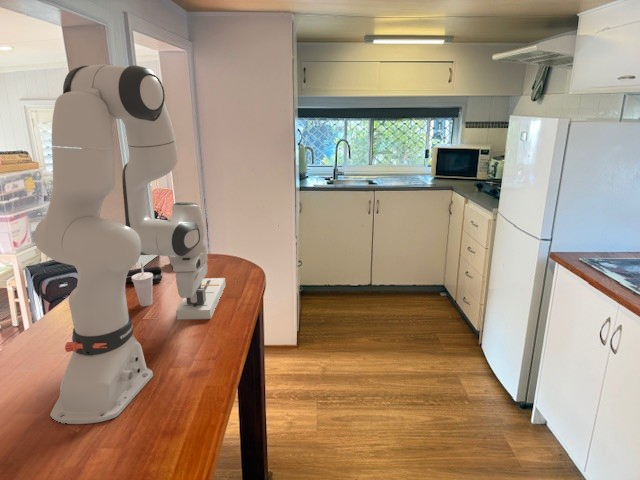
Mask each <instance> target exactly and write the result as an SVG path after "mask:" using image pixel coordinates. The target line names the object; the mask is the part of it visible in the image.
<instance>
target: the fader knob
mask: <svg viewBox="0 0 640 480" xmlns="http://www.w3.org/2000/svg"><path fill="white" fill-rule="evenodd" d="M196 295H197V296H198V300H197V302H196V303H192V302H191V299H190V298H186V299H187V304H204V303H205V301H206V294H205V288H198V289H197V290H196Z"/></svg>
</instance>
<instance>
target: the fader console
mask: <svg viewBox="0 0 640 480" xmlns="http://www.w3.org/2000/svg"><path fill="white" fill-rule="evenodd" d="M201 288H205V294H206V301H205V303H204V304H187V299H186V298H183V299H182V300H181V302H180V303H179V305H178V307H177V308H176V309H175V313H176V314H175V315H176V320H211V319H212V317H213V316H214V313H215V310H216V309H215V308H217V306H218V304H219V302H220V300H221V298H222V295H223V293H224V291H225V289H226V278H225V277H217V278H216V277H211V278H209V277H207V278H205V277H204V279H203V280H202V286H201ZM224 288H225V289H224ZM223 290H224V291H223ZM220 297H221V298H220ZM219 299H220V300H219Z"/></svg>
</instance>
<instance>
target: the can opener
mask: <svg viewBox="0 0 640 480" xmlns="http://www.w3.org/2000/svg"><path fill="white" fill-rule="evenodd" d="M143 271H144V272H149V273H152V274H153V279H152V285H154V284H157V283H160V282H161V281H162V279H163V275H162V271H163V270H162V268H161V267H160V266H153V265H152V266H149V267H143ZM138 273H142V271H141V268H137V269H136V268H135V269H132V270H131V269H130V270H129V271H128V274H127V278H126V283H125V285H127V284H129V283H130V284H131V283H133V282H132V276H133V275H135V274H138Z"/></svg>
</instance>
